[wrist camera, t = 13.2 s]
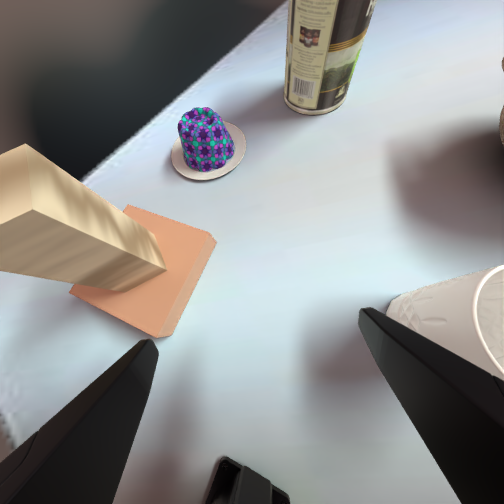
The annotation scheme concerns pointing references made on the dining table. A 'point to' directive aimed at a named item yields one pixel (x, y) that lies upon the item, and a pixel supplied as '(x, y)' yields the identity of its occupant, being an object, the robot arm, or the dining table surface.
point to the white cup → (460, 316)
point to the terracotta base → (158, 277)
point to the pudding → (206, 145)
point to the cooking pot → (502, 117)
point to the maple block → (68, 229)
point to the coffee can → (323, 51)
